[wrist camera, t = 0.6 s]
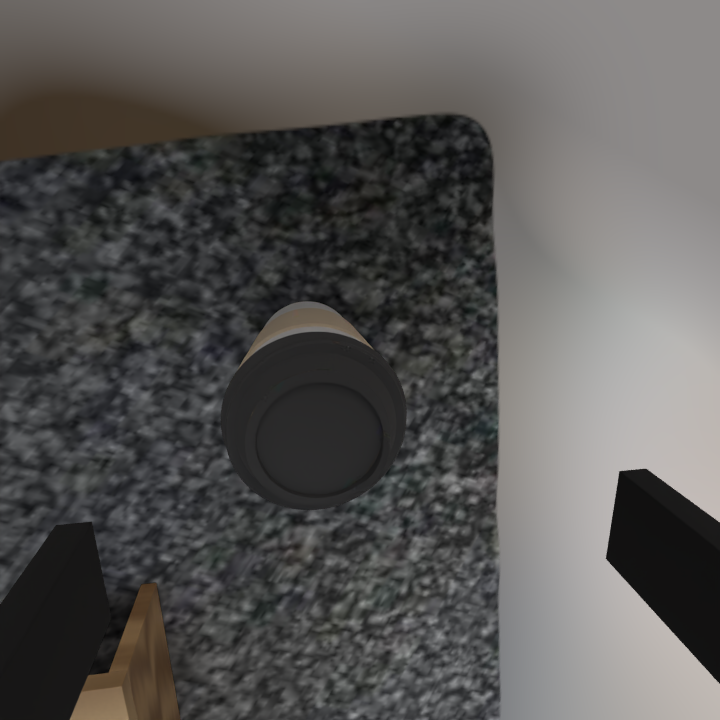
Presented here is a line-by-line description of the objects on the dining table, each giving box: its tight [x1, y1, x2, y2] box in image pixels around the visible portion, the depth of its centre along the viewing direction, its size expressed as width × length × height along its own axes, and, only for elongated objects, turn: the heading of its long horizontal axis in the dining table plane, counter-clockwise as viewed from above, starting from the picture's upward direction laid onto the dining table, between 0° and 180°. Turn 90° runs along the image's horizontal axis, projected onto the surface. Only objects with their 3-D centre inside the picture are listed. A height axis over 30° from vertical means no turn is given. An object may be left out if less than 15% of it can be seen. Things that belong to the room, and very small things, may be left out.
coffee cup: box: [221, 301, 407, 510], centre depth 29 cm, size 9×9×15 cm
